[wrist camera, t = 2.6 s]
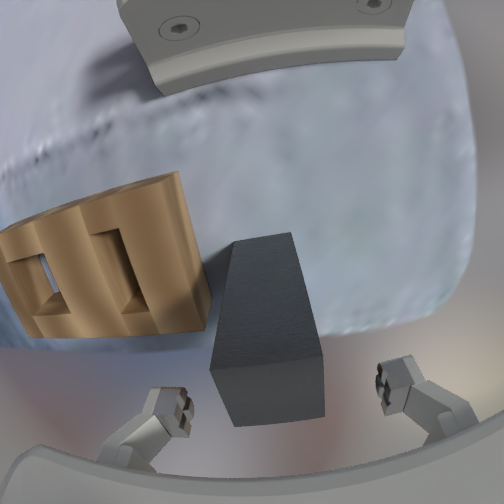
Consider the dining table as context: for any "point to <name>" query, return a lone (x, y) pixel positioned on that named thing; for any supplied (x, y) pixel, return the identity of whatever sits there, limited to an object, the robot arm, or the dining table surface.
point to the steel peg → (267, 337)
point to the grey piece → (258, 35)
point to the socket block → (108, 265)
